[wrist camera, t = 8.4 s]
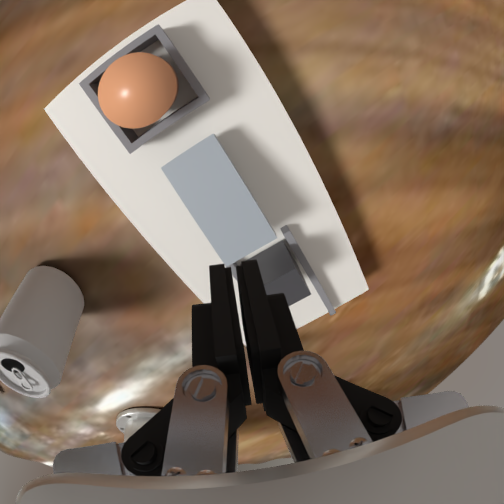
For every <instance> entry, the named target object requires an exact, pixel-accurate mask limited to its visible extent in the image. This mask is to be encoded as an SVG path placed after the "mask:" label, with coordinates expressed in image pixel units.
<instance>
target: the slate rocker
mask: <svg viewBox="0 0 504 504" xmlns="http://www.w3.org/2000/svg"><path fill="white" fill-rule="evenodd" d="M161 169H162V171H163V172H164V174H165V175H166V177H167V178H168V180H169V182H170V183H171V185H172V186H173V188H174V189H175V191H176V192H177V194H178V195H179V197H180V198H181V200H182V202H183V203H184V205H185V206H186V208H187V209H188V211H189V212H190V214H191V215H192V217H193V218H194V220H195V221H196V223H197V224H198V226H199V227H200V229H201V230H202V232H203V233H204V235H205V236H206V238H207V239H208V241H209V242H210V244H211V245H212V247H213V248H214V250H215V251H216V253H217V254H218V256H219V257H220V259H221V260H222V261H223V263H224V264H225V266H226V267H227V266H229V265H231V264H233V263H234V262H236V261H238V260H240V259H241V258H243V257H245V256H247V255H248V254H250V253H252V252H254V251H255V250H257V249H259V248H261V247H263V246H264V245H266V244H268V243H270V242H271V241H273V240H275V239H277V236H276V233H275V231H274V229H273V228H272V226H271V224H270V223H269V221H268V219H267V218H266V216H265V214H264V213H263V211H262V209H261V208H260V206H259V204H258V203H257V201H256V199H255V198H254V196H253V195H252V193H251V191H250V190H249V188H248V186H247V185H246V183H245V182H244V180H243V178H242V177H241V175H240V173H239V172H238V170H237V169H236V167H235V165H234V164H233V162H232V161H231V159H230V157H229V156H228V154H227V153H226V151H225V149H224V148H223V146H222V145H221V143H220V141H219V140H218V138H217V137H216V135H215V134H212V135H210V136H208V137H207V138H205V139H204V140H202V141H200V142H199V143H197V144H196V145H194V146H193V147H191V148H189V149H188V150H186V151H185V152H183V153H182V154H180V155H179V156H177V157H176V158H174V159H173V160H171V161H170V162H168V163H167V164H166V165H164V166H163V167H161Z"/></svg>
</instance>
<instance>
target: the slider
mask: <svg viewBox="0 0 504 504" xmlns="http://www.w3.org/2000/svg"><path fill="white" fill-rule="evenodd" d="M255 259H257V262H258V266H259V269H260V273H261V276H262V280H263V284H264V287H265V291H266V294H267V295H271V294H278V293H284V295H285V297H286V300H287V303H288V306H291V305H293V304H294V303H296V302H298V301H300V300H302V299H304V298H306V297H307V296H309V295H311V292H310V290H309V288H308V286H307V284H306V281H305V279H304V277H303V275H302V273H301V271H300V269H299V266H298V264H297V263H296V261H295V259H294V258H293V256H292V254H291V253H290V251H289V250H288V248H287V246H286V245H285V243H284V241H283V240H282V241H280V242H278V243H276V244H275V245H273V246H271V247H269V248H268V249H266V250H264V251H262V252H260V253H259V254H257V255H255V256H253V257H252V258H250V259H248V260H255ZM248 260H246V261H248ZM240 265H241V264H240Z"/></svg>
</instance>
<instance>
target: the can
mask: <svg viewBox="0 0 504 504" xmlns="http://www.w3.org/2000/svg"><path fill="white" fill-rule="evenodd" d="M83 308H84V298H83V295H82V292H81V290H80V288H79V287H78V285H77V284H76V283H75V282H74V280H73V279H72V278H71V277H69V276H68V275H67V274H65V273H64V272H62V271H60V270H58V269H56V268H54V267H48V266H38V267H34V268H33V269H31V270H30V271H28V273H27V274H26V276H25V278H24V279H23V281H22V282H21V284H20V286H19V287H18V289H17V290H16V292H15V294H14V295H13V297H12V299H11V301H10V302H9V304H8V306H7V308H6V309H5V311H4V313H3V315H2V317H1V318H0V380H1V381H2V382H3V383H4V384H5V385H7V386H8V387H10V388H11V389H13V390H14V391H16V392H18V393H21V394H23V395H26V396H29V397H33V398H42V397H47V396H48V395H49V394H50V391H51V389H53V388H55V387H56V386H58V385H59V384H60V381H61V377H62V374H63V370H64V367H65V363H66V360H67V357H68V353H69V350H70V347H71V344H72V341H73V338H74V335H75V332H76V329H77V326H78V323H79V320H80V317H81V314H82V311H83Z"/></svg>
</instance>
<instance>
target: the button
mask: <svg viewBox="0 0 504 504" xmlns="http://www.w3.org/2000/svg"><path fill="white" fill-rule="evenodd" d="M178 87H179V84H178V78H177V74H176V72H175V70H174V69H173V67H172V66H171V65H170V64H169V63H168V62H167V61H165V60H164V59H162V58H160V57H158V56H155V55H153V54H150V53H144V52H136V53H130V54H127V55H124V56H122V57H120V58H118V59H117V60H115V61H114V62H113V63H112V64H111V65H110V66H109V67H108V68H107V69H106V71H105V72H104V74H103V75H102V77H101V80H100V83H99V87H98V101H99V105H100V107H101V110H102V111H103V113H104V115H105V116H106V117H107V118H108V119H109V120H110V121H111V122H113V123H114V124H116V125H118V126H121V127H124V128H132V129H134V128H142V127H145V126H148V125H150V124H153V123H154V122H156V121H157V120H159V119H160V118H161V117H162V116H163V115H164V114H165V113H166V112H167V111H168V110H169V109H170V108H171V107H172V105H173V104H174V102H175V100H176V97H177V94H178Z"/></svg>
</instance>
